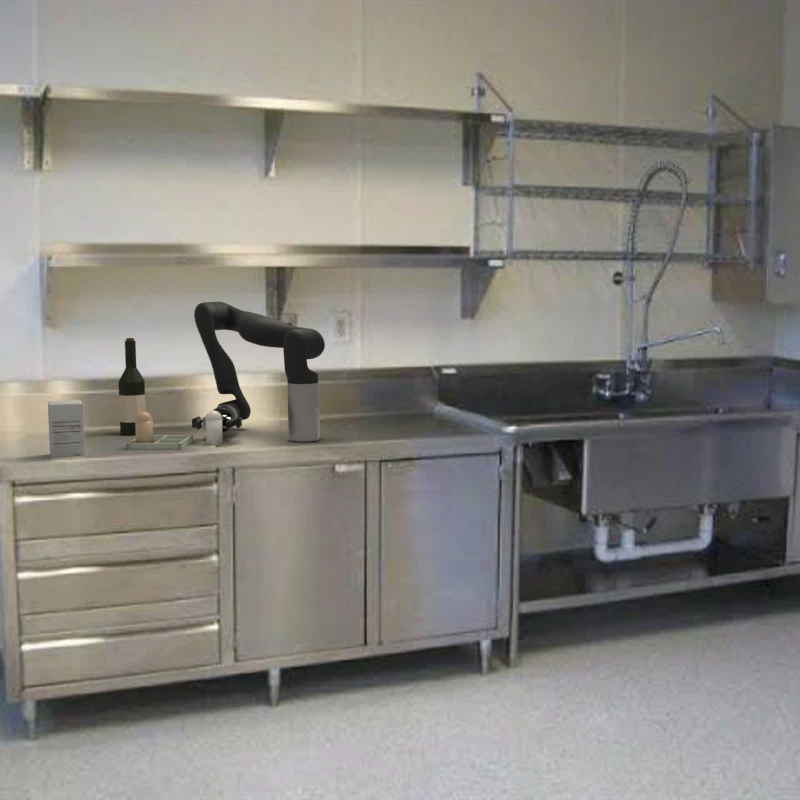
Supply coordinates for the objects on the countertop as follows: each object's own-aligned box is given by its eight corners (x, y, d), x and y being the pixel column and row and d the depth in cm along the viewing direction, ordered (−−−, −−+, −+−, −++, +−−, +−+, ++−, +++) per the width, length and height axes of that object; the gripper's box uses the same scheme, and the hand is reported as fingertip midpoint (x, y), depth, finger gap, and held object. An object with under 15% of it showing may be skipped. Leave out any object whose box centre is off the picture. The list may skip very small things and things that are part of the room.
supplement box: (49, 454, 289) (47, 400, 287) (83, 452, 292) (81, 399, 290) (50, 459, 281) (48, 404, 279) (85, 457, 284) (83, 402, 282)
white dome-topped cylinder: (224, 443, 306) (223, 409, 304) (220, 446, 301) (219, 411, 300) (207, 443, 306) (206, 409, 305) (204, 446, 301) (203, 411, 300)
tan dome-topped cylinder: (155, 445, 300) (154, 410, 298) (150, 448, 295) (149, 412, 294) (138, 445, 300) (137, 410, 298) (134, 448, 295) (132, 412, 294)
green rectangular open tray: (193, 442, 308) (192, 435, 308) (180, 451, 293) (180, 443, 293) (141, 442, 309) (141, 435, 308) (126, 451, 293) (126, 443, 293)
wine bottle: (124, 436, 320) (121, 339, 317) (116, 433, 327) (112, 338, 324) (151, 434, 325) (147, 338, 321) (141, 431, 332) (138, 337, 328)
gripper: (199, 405, 317) (187, 412, 300) (246, 405, 316) (236, 412, 300) (200, 430, 317) (188, 438, 301) (247, 430, 317) (237, 438, 301)
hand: (212, 425), depth 301 cm, fingers open, 8 cm apart
